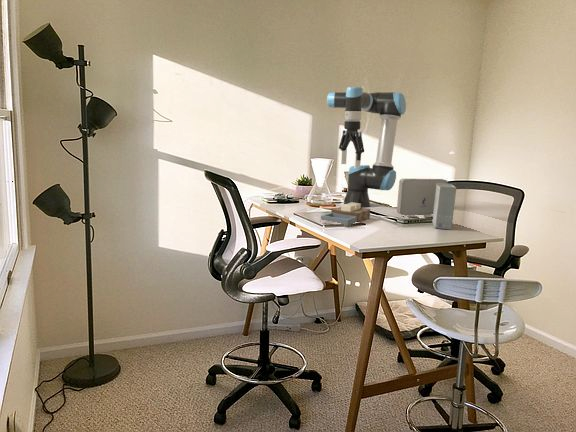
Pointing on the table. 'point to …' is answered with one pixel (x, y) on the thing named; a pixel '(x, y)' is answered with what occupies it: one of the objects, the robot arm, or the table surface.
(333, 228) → the table surface
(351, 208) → the tile
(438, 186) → the hard drive box
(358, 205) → the tile
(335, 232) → the table surface
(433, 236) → the table surface
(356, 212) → the bench plate
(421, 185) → the network device
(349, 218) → the box
